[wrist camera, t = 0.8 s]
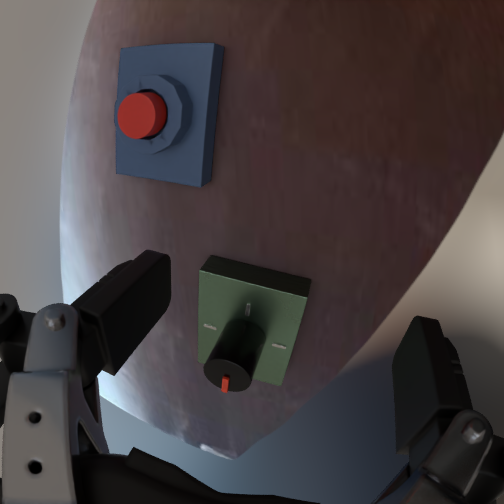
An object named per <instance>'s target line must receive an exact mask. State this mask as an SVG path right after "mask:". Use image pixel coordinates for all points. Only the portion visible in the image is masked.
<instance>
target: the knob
mask: <svg viewBox="0 0 504 504" xmlns="http://www.w3.org/2000/svg"><path fill="white" fill-rule="evenodd" d="M264 345H265V335H264V333H263V332H262V330H261V329H260V328H259V327H258V326H256V325H255V324H253V323H251V322H249V321H245V320H233V321H230V322H228V323H227V324H226V325H225V327H224V328H223V330H222V332H221V334H220V336H219V338H218V340H217V342H216V344H215V346H214V347H213V349H212V351H211V353H210V355H209V357H208V359H207V361H206V363H205V364H204V368H203V370H204V374H205V376H206V377H207V379H208V380H209V381H210V382H211V383H213V384H214V385H216V386H217V387H219V388H221V389H222V390H221V391H222V392H225V393H227V392H228V391H233V392H239V391H243V390H246V389H247V388H248V387H249V386H250V384H251V381H252V379H253V376H254V373H255V370H256V368H257V365H258V362H259V359H260V356H261V354H262V351H263V348H264Z"/></svg>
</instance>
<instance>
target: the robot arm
mask: <svg viewBox="0 0 504 504" xmlns="http://www.w3.org/2000/svg"><path fill="white" fill-rule="evenodd" d="M170 300H171V260H170V257H169V255H167V254H163V253H159V252H156V251H152V250H145V251H144V252H143V253H142V254H140V255H139V256H138V257H137V258H135V259H134V260H129V261H127V262H124V263H122V264H119V265H117V266H116V267H115V268H113V269H112V270H111V271H110V272H108V273H107V275H105V276H104V277H102V278H101V279H100V280H99V282H96V283H95V284H94V285H93V286H92V287H90V288H89V289H88V290H87V291H86V292H85V293H83V294H82V295H81V296H80V297H79V298H78V299H76V300H75V301H74V302H73V303H72V304H71V305H68V304H63V303H57V304H51V305H48V306H46V307H44V308H42V309H41V310H39V311H38V312H37V313H31V312H25V311H21V310H20V308H19V305H18V303H17V300H16V298H15V297H14V296H13V295H10V294H0V358H1V359H2V361H1V362H0V428H1V426H2V425H3V424H4V431H3V447H2V478H0V504H320V503H315V502H308V501H302V500H296V499H290V498H285V497H281V496H276V495H247V494H230V493H221V492H218V491H216V490H214V489H212V488H210V487H208V486H207V485H205V484H204V483H202V482H201V481H198V480H197V479H196V478H194V477H193V476H191V475H189V474H188V473H186V472H185V471H183V470H182V469H180V468H179V467H178V466H176V465H174V464H171V463H169V462H166V461H164V460H161V459H159V458H157V457H155V456H152V455H150V454H147V453H145V452H143V451H141V450H139V449H137V448H135V447H133V448H132V450H131V451H130V453H129V455H128V456H127V455H121V454H110V453H109V449H108V445H107V442H106V439H105V436H104V432H103V427H102V418H101V409H100V398H99V384H98V378H97V375H98V374H99V373H100V372H101V371H102V370H103V371H105V372H107V373H109V374H111V375H113V376H115V375H116V373H117V372H118V371H119V369H120V368H121V367H122V366H123V364H124V363H125V362H126V361H127V359H128V358H129V357H130V355H131V354H132V353H133V352H134V350H135V349H136V348H137V347H138V345H139V344H140V343H141V342H142V340H143V339H144V338H145V337H146V335H147V334H148V333H149V332H150V330H151V329H152V328H153V327H154V325H155V324H156V323H157V322H158V320H159V319H160V318H161V317H162V315H163V314H164V313H165V312H166V310H167V308H168V306H169V303H170ZM392 374H393V387H394V402H395V423H396V424H395V425H396V454H407V455H409V462H408V463H407V464H406V465H405V466H404V467H403V468H402V469H401V471H400V472H399V473H398V474H397V475H396V477H395V478H394V479H393V480H392V481H391V482H390V483H389V485H388V486H387V487H386V488H385V489H384V490H383V491H382V492H381V493H380V495H378V497H377V498H376V499H375V500H374V501H373V502H372V503H371V504H496V499H497V498H498V497H500V496H502V495H503V494H504V438H501V437H498V436H496V435H493V430H492V427H491V425H490V423H489V421H488V420H487V419H486V418H485V416H483V415H482V414H481V413H479V412H477V411H475V410H473V407H472V403H471V399H470V395H469V391H468V388H467V384H466V380H465V377H464V375H463V370H462V367H461V365H460V360H459V357H458V354H457V351H456V349H455V347H454V346H453V345H452V343H451V342H450V340H449V339H448V338H446V337H444V335H443V332H442V329H441V326H440V323H439V321H438V320H436V319H431V318H427V317H422V316H416V317H414V318H413V320H412V322H411V324H410V325H409V328H408V330H407V332H406V333H405V335H404V337H403V339H402V341H401V343H400V345H399V347H398V349H397V350H396V353H395V355H394V359H393V364H392Z"/></svg>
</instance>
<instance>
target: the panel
mask: <svg viewBox="0 0 504 504" xmlns="http://www.w3.org/2000/svg"><path fill="white" fill-rule="evenodd" d="M310 284H311V279H306V278H302V277H298V276H294V275H290V274H286V273H282V272H278V271H273V270H269V269H265V268H261V267H257V266H253V265H249V264H245V263H241V262H237V261H233V260H229V259H225V258H221V257H217V256H213V255H211V256H210V257H209V259H208V260H207V261H206V262H205V264H204V265H203V266H202V267H201V269H200V270H199V303H198V362H200V363H203V364H205V363H206V361H207V359H208V357H209V355H210V353H211V351H212V349H213V347H214V346H215V344H216V342H217V340H218V338H219V336H220V334H221V332H222V330H223V328H224V327H225V325H226V324H227V323H228V322H230V321H233V320H245V321H249V322H251V323H253V324H255V325H256V326H258V327H259V328H260V329H261V330H262V332H263V333H264V335H265V345H264V348H263V351H262V354H261V356H260V359H259V362H258V365H257V368H256V370H255V373H254V376H253V379H256V380H259V381H263V382H267V383H271V384H274V385H278V386H281V385H282V382H283V379H284V376H285V373H286V369H287V366H288V363H289V360H290V357H291V353H292V350H293V347H294V344H295V340H296V337H297V333H298V330H299V327H300V323H301V320H302V316H303V313H304V309H305V306H306V302H307V299H308V294H309V289H310Z"/></svg>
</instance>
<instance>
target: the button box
mask: <svg viewBox="0 0 504 504" xmlns="http://www.w3.org/2000/svg"><path fill="white" fill-rule="evenodd" d="M223 54H224V47H223V46H221V45H218V44H215V43H180V44H161V45H148V46H137V47H128V48H121V51H120V62H119V73H118V88H117V100H116V102H115V114H114V123H115V126H116V174H122V175H129V176H136V177H142V178H148V179H155V180H161V181H167V182H173V183H179V184H184V185H190V186H196V187H202V186H204V185H205V184H207V183H208V182H210V181H211V173H212V161H213V149H214V138H215V127H216V117H217V107H218V97H219V88H220V79H221V70H222V62H223ZM145 92H151V93H155V94H157V95H159V96H160V97H161V98H162V99H163V101H164V103H165V105H166V109H167V118H166V122H165V124H164V126H163V127H162V129H161V130H160V131H159V132H158V133H156V134H154V135H151V136H147V137H144V138H140V139H133V138H130V137H128V136H126V135H125V134H124V133H123V132H122V130H121V129H120V126H119V123H118V110H119V107H120V104H121V103H122V101H123V100H124V99H125V98H126V97H127V96H129V95H131V94H134V93H145Z"/></svg>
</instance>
